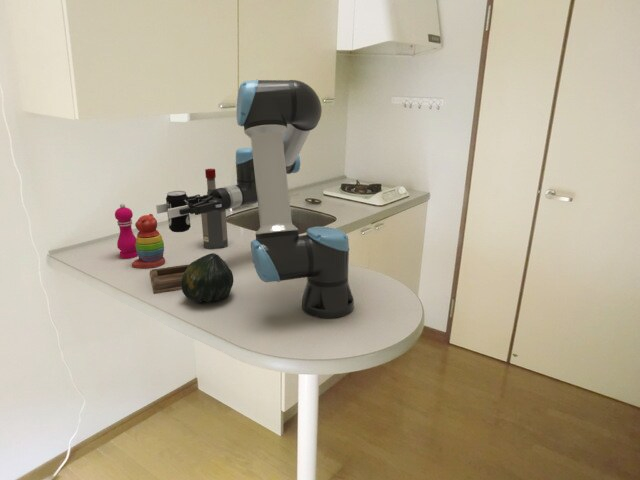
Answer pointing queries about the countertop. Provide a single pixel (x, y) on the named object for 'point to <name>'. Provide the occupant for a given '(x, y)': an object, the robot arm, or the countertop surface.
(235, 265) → the countertop surface
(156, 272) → the brown wooden flat tray
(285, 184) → the robot arm
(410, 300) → the countertop surface
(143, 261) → the stacking bear
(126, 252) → the pepper mill
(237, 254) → the countertop surface
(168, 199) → the beverage can
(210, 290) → the squash
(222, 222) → the liquor
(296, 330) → the countertop surface
